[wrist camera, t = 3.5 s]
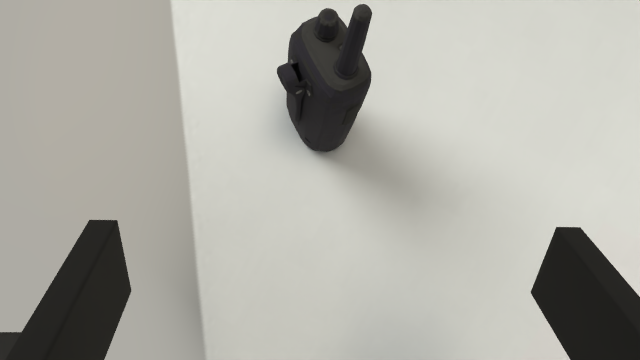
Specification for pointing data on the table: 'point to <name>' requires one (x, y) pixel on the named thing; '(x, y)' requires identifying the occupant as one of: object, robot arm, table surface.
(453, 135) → the table surface
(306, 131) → the two-way radio
